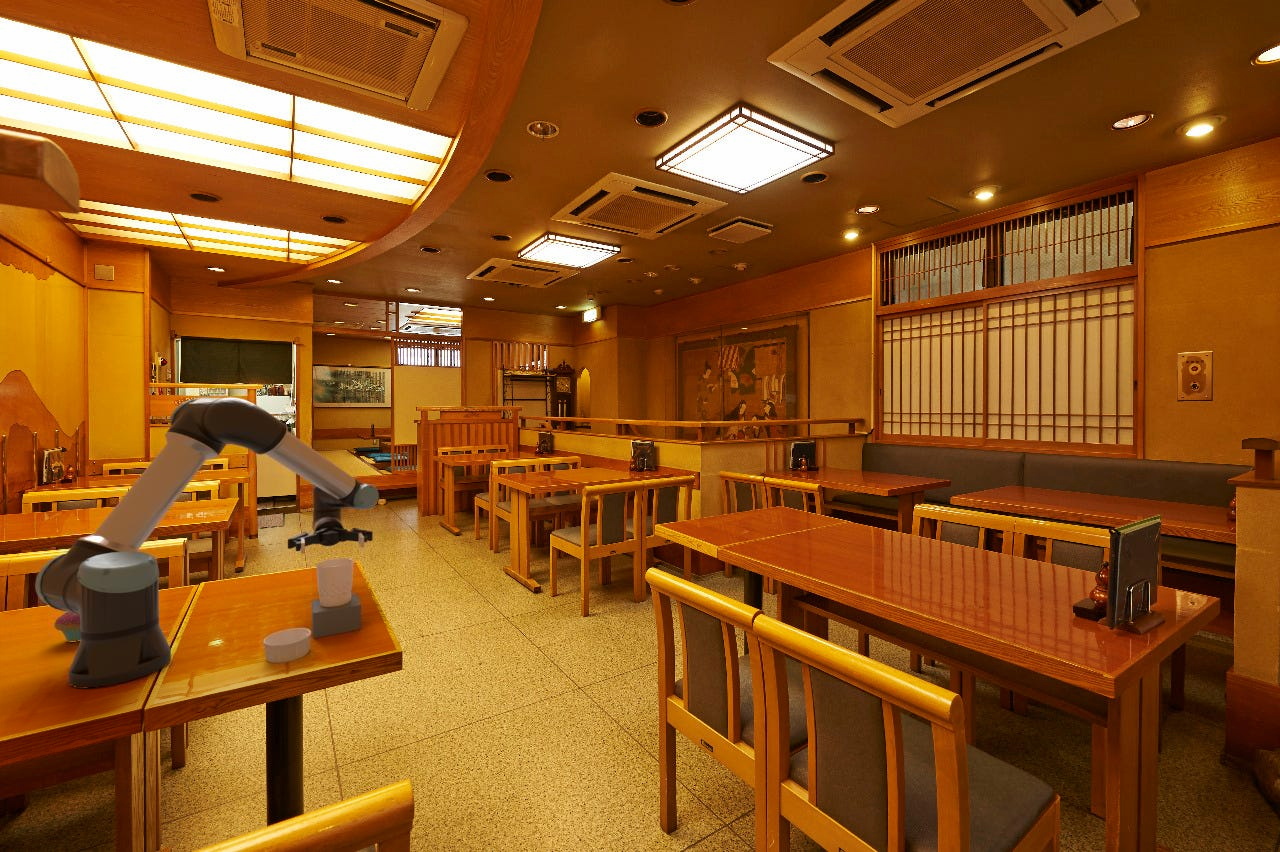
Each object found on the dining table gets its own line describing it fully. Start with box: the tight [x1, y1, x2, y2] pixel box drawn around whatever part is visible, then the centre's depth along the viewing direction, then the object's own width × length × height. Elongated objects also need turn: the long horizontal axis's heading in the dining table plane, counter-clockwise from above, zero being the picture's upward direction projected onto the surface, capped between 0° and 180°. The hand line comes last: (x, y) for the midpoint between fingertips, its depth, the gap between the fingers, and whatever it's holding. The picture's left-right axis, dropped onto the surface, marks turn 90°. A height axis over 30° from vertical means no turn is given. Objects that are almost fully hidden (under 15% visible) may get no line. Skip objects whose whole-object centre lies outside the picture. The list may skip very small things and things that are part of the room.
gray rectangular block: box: [311, 593, 362, 639], centre depth 133 cm, size 10×10×6 cm
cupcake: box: [53, 611, 81, 641], centre depth 126 cm, size 9×8×12 cm
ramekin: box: [262, 627, 313, 664], centre depth 118 cm, size 9×9×4 cm
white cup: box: [316, 557, 354, 607], centre depth 133 cm, size 8×8×10 cm
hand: (333, 545), depth 142 cm, fingers open, 13 cm apart
